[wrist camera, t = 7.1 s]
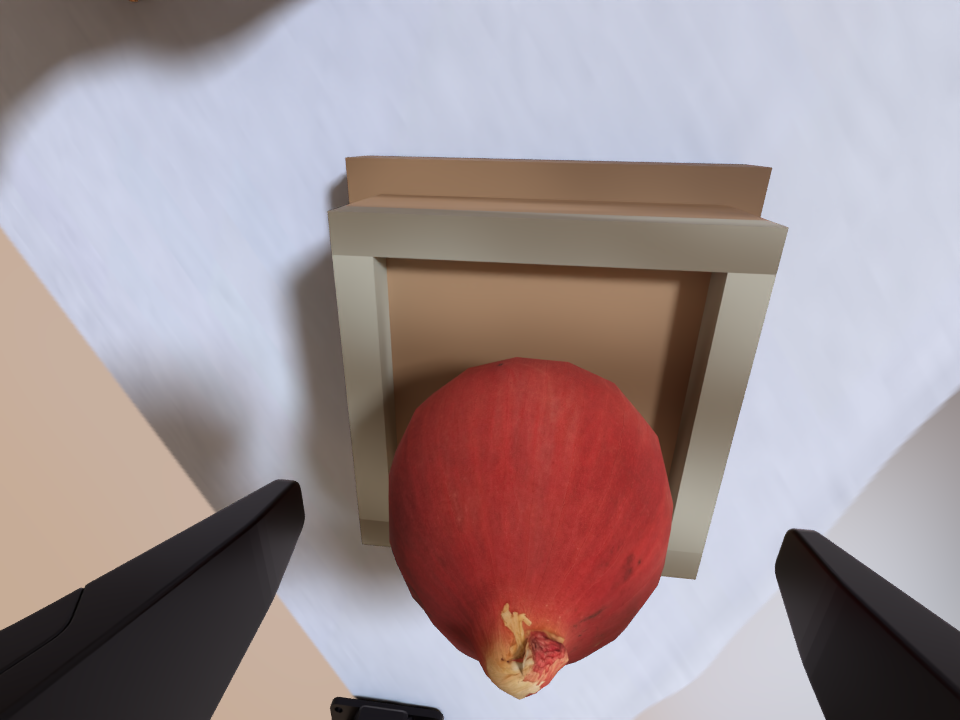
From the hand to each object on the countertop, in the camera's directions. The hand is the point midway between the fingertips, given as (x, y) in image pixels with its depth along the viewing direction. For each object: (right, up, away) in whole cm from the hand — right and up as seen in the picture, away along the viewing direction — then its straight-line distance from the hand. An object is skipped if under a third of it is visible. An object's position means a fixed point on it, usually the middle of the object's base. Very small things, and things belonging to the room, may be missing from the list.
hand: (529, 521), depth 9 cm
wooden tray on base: (+1, +4, +9) cm, 10 cm away
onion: (0, +2, +5) cm, 5 cm away
